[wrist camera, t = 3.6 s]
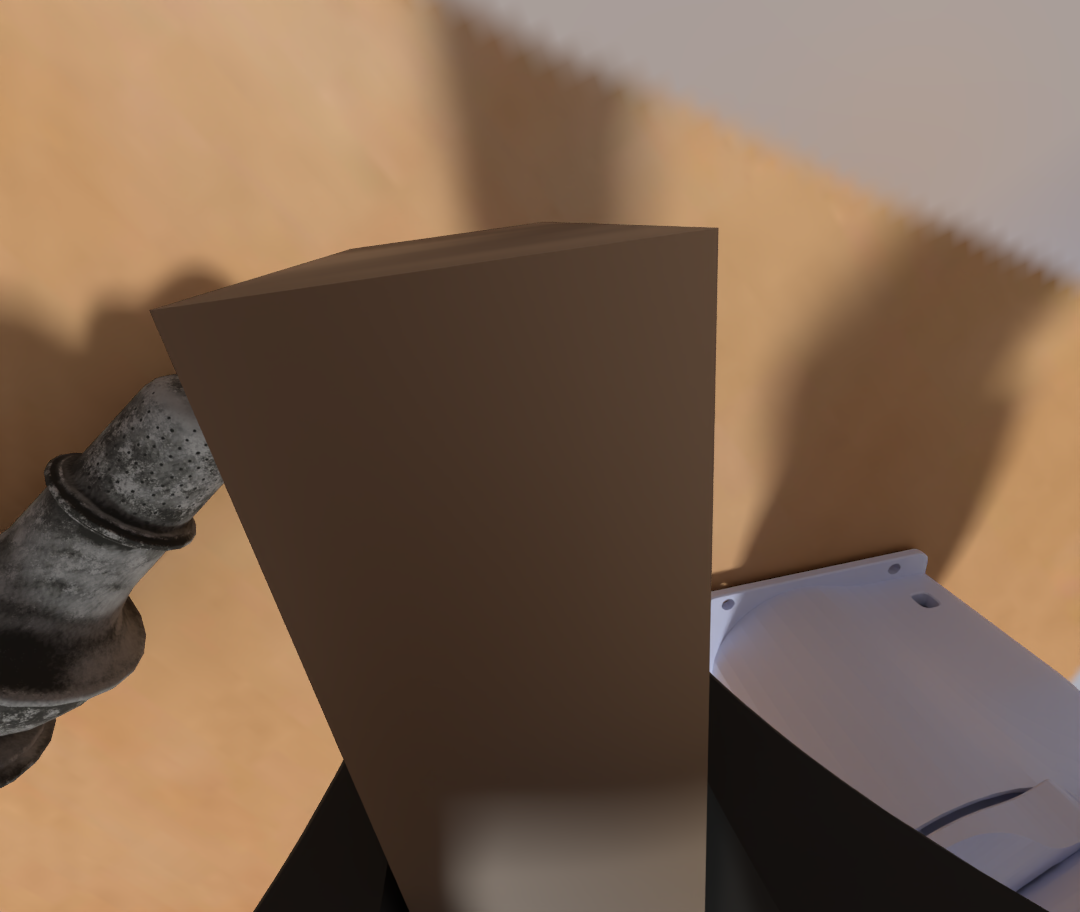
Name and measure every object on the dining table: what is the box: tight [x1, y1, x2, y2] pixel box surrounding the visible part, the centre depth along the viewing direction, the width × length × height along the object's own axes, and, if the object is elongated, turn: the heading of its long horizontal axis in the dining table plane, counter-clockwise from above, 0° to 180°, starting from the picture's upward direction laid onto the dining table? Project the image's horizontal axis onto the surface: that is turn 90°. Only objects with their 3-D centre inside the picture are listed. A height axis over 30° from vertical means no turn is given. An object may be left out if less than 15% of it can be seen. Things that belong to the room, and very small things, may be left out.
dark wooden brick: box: [150, 222, 718, 912], centre depth 8 cm, size 3×14×6 cm, turn 7°
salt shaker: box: [0, 374, 224, 788], centre depth 14 cm, size 6×6×12 cm
